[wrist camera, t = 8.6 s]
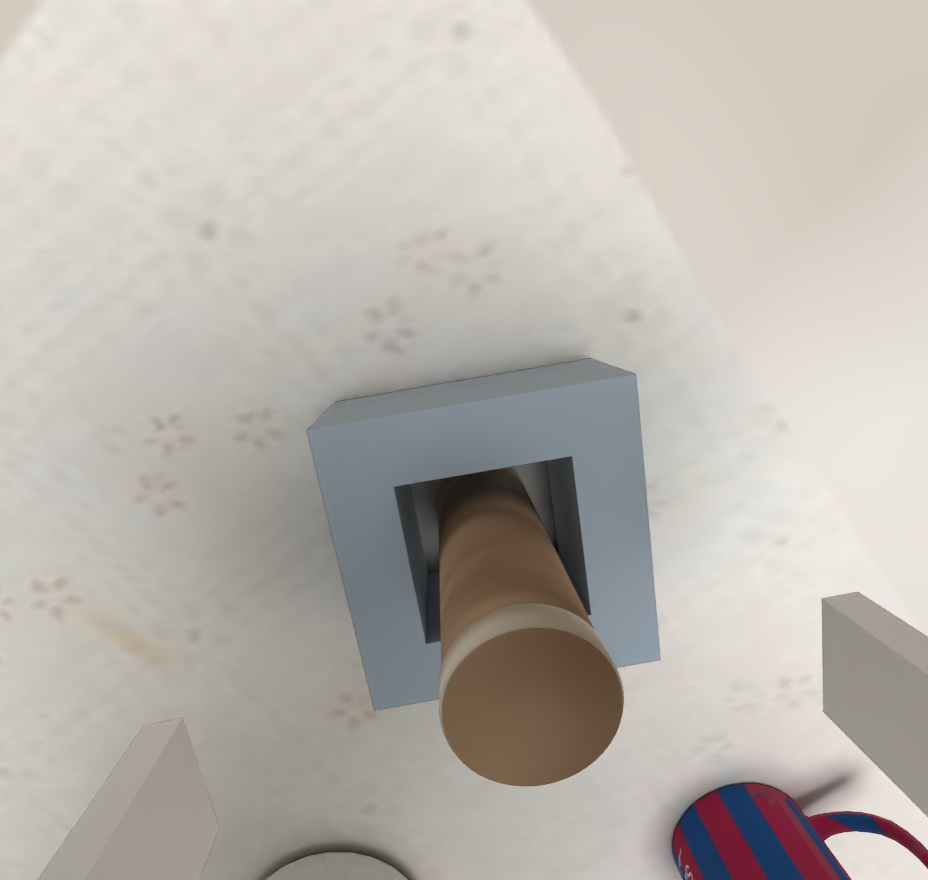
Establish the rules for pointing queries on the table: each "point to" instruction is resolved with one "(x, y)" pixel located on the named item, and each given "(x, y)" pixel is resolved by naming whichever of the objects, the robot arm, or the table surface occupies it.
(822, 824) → the cup
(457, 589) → the dowel
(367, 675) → the socket block
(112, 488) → the table surface
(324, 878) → the mug
